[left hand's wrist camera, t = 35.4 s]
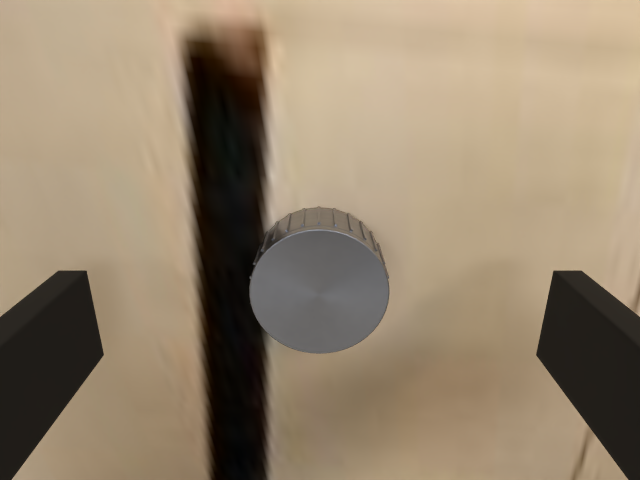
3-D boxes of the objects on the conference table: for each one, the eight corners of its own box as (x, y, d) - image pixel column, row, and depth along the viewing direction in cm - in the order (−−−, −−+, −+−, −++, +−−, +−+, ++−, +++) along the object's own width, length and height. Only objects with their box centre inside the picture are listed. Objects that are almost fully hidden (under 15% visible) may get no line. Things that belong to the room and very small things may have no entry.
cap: (406, 244, 16) (419, 270, 14) (341, 339, 17) (344, 376, 15) (294, 182, 15) (290, 200, 13) (235, 286, 16) (223, 318, 14)
